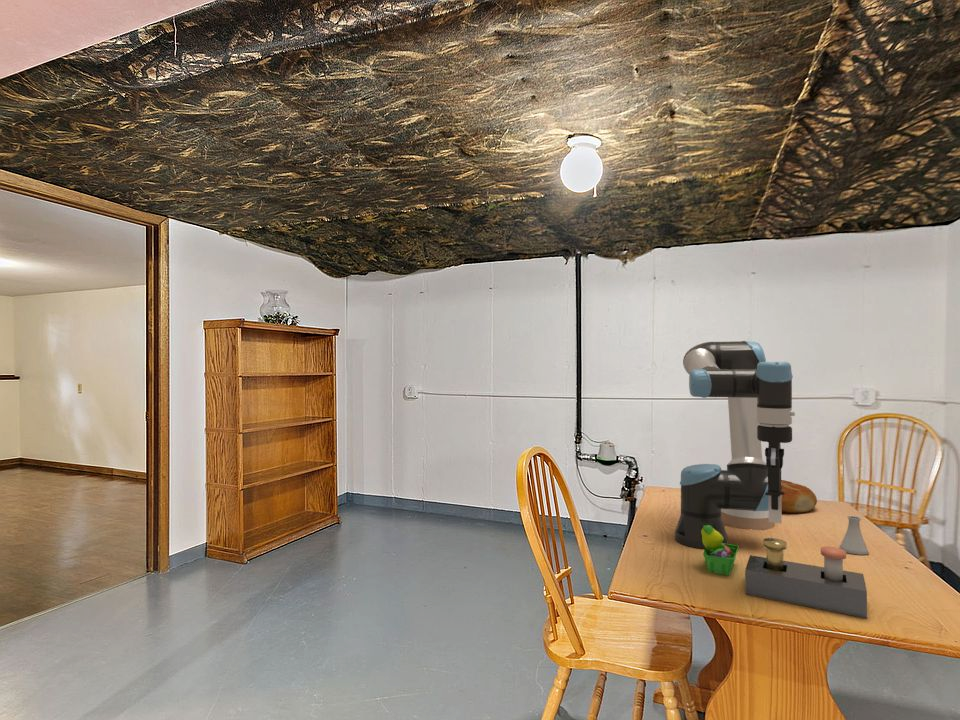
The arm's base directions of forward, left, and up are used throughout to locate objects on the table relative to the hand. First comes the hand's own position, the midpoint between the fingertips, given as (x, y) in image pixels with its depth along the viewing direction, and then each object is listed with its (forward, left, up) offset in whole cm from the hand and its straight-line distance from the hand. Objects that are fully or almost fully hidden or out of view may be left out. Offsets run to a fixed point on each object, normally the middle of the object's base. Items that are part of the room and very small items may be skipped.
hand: (775, 521), depth 133 cm
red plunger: (+12, 0, -13) cm, 17 cm away
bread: (-3, +83, -18) cm, 85 cm away
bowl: (-12, +57, -18) cm, 61 cm away
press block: (+6, 0, -17) cm, 18 cm away
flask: (+18, +42, -17) cm, 49 cm away
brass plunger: (0, 0, -13) cm, 13 cm away
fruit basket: (-14, +9, -17) cm, 24 cm away
